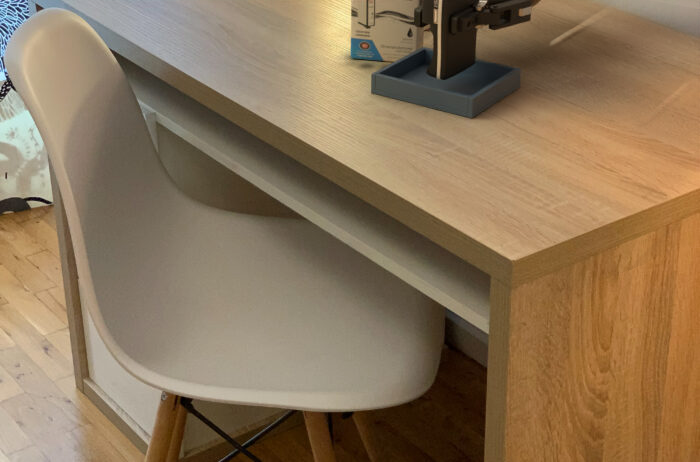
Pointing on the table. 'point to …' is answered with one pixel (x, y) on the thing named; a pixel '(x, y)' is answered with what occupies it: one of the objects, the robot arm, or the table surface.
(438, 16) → the battery charger
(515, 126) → the table surface
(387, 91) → the tray
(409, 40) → the ink box
